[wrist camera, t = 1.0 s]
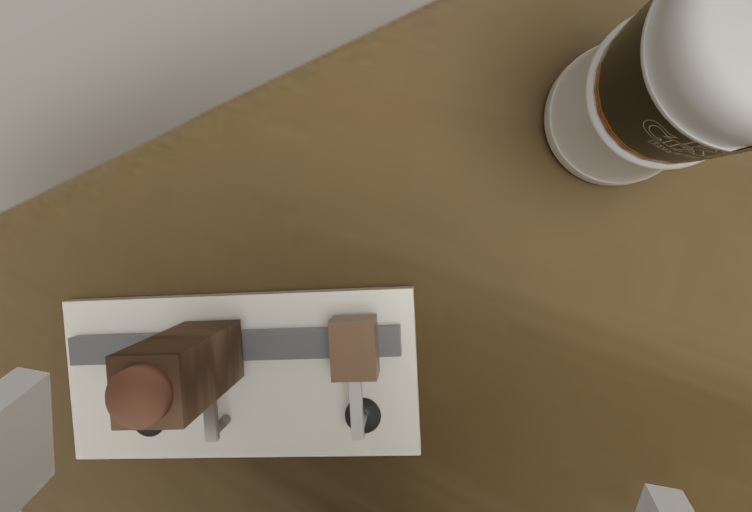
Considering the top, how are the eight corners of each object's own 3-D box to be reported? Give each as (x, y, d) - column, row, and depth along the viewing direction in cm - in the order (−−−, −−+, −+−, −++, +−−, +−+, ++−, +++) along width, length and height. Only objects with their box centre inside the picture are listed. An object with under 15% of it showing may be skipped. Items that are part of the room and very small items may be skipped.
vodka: (669, 37, 39) (1472, -551, 9) (689, 173, 39) (1509, 46, 9) (531, 65, 40) (840, -382, 10) (552, 197, 40) (906, 152, 10)
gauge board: (421, 446, 42) (420, 478, 37) (87, 451, 45) (44, 481, 40) (413, 285, 42) (411, 295, 36) (74, 298, 44) (28, 310, 39)
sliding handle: (253, 425, 42) (181, 512, 29) (200, 426, 42) (107, 512, 30) (246, 316, 41) (169, 359, 29) (192, 318, 41) (94, 361, 29)
